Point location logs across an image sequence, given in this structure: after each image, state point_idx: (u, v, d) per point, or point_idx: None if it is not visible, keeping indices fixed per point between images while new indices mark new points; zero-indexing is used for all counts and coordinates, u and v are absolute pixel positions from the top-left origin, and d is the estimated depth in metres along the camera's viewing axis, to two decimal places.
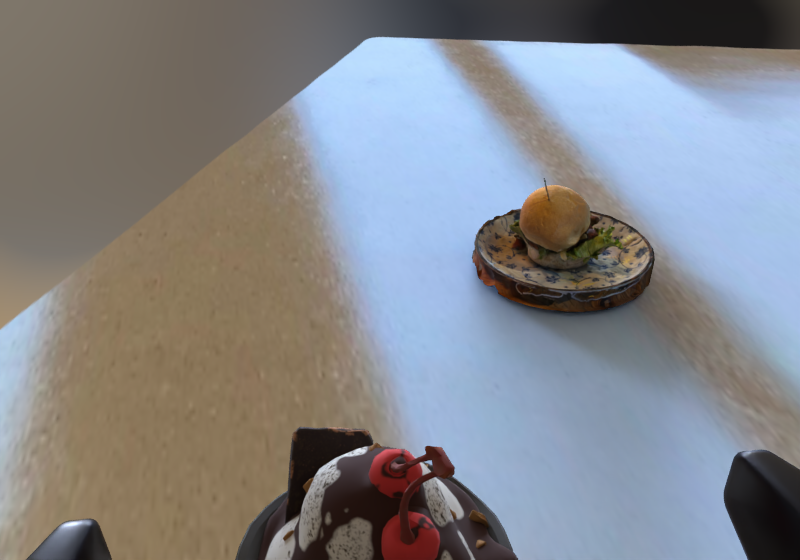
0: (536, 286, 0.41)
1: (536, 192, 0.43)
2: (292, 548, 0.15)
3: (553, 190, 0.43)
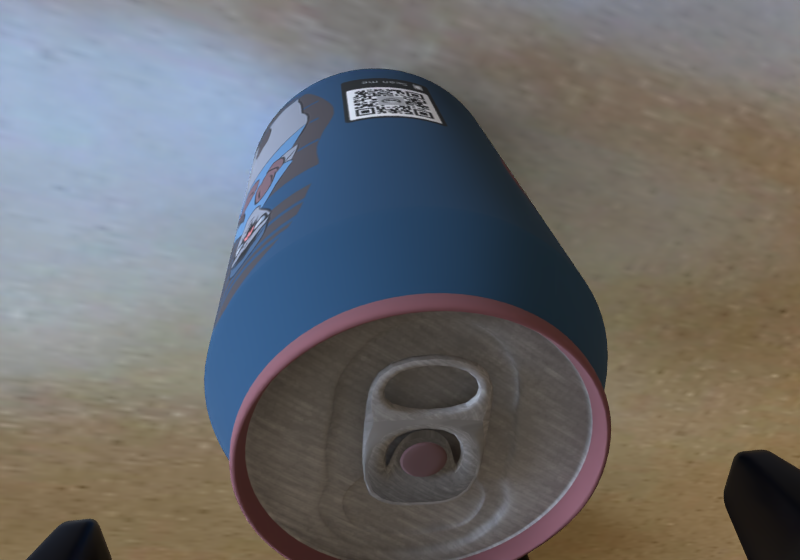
0: None
1: None
2: None
3: None
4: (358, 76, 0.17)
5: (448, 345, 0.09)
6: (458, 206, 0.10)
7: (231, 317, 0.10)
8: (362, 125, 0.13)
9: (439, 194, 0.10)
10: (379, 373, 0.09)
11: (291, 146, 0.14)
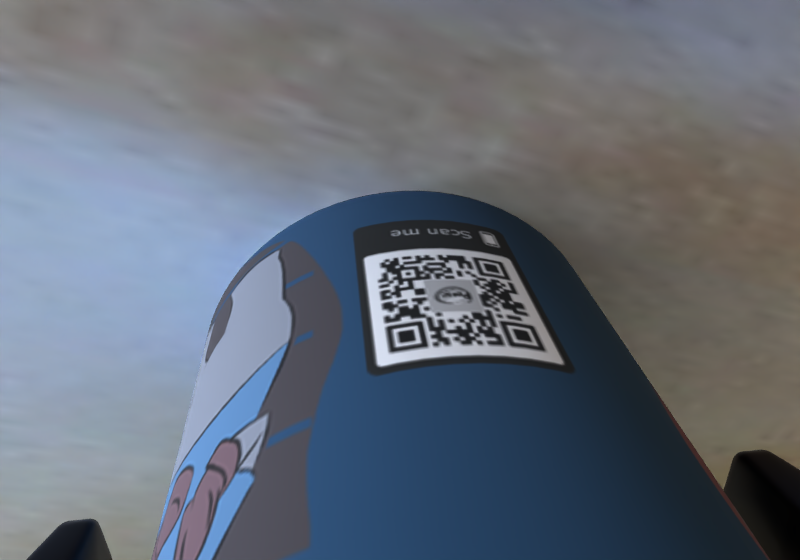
0: None
1: None
2: None
3: None
4: (383, 213, 0.10)
5: None
6: None
7: None
8: (405, 394, 0.06)
9: None
10: None
11: (257, 409, 0.07)
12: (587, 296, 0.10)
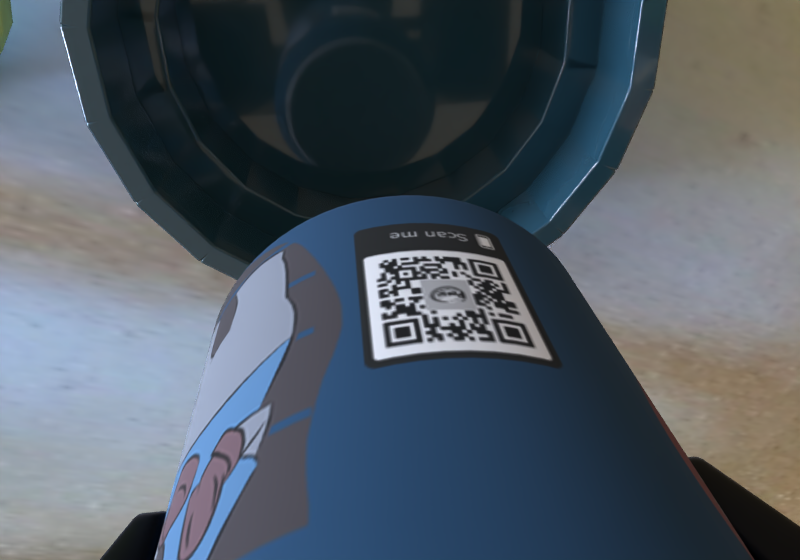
0: None
1: None
2: None
3: None
4: (383, 217, 0.10)
5: None
6: None
7: None
8: (400, 385, 0.07)
9: None
10: None
11: (260, 401, 0.07)
12: (579, 297, 0.10)
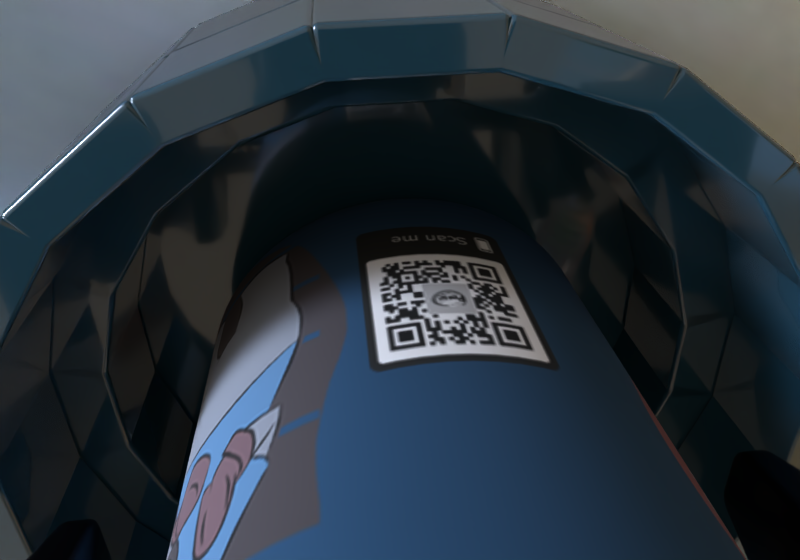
0: None
1: None
2: None
3: None
4: (384, 220, 0.10)
5: None
6: None
7: None
8: (403, 388, 0.07)
9: None
10: None
11: (269, 402, 0.08)
12: (575, 298, 0.10)
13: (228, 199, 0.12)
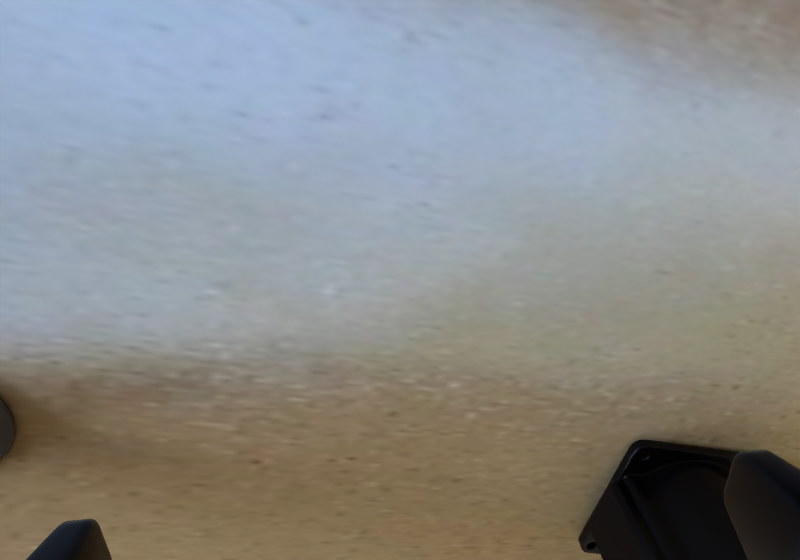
0: None
1: None
2: None
3: None
4: None
5: None
6: None
7: None
8: None
9: None
10: None
11: None
12: None
13: None
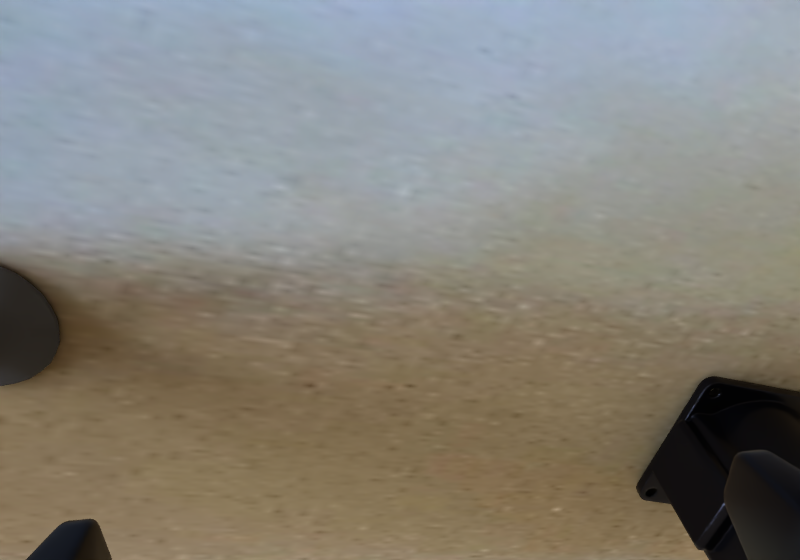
0: None
1: None
2: None
3: None
4: None
5: None
6: None
7: None
8: None
9: None
10: None
11: None
12: None
13: None
